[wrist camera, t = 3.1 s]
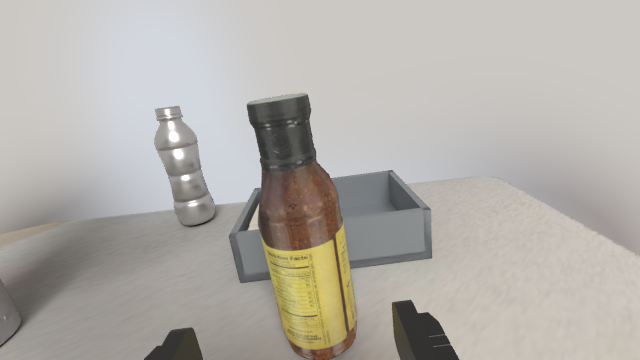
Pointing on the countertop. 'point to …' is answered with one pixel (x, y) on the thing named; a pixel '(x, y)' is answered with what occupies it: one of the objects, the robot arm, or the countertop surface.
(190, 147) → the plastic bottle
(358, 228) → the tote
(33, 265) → the countertop surface
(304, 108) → the sauce bottle
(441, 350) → the robot arm
